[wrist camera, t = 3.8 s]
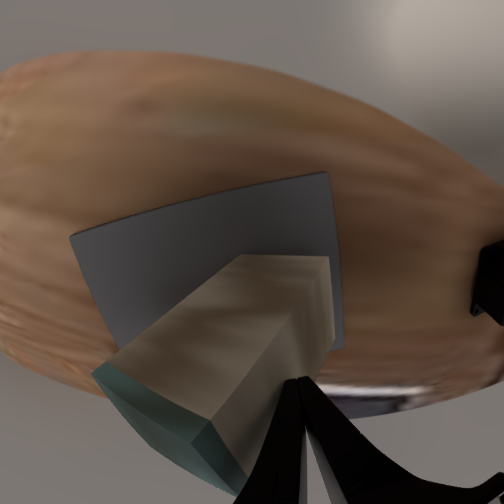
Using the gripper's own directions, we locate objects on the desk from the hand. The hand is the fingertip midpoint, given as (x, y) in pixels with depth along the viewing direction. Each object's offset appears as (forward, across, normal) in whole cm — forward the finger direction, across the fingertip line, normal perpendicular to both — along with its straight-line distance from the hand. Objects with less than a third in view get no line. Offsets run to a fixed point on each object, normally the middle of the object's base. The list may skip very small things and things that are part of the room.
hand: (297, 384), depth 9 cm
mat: (+8, +4, 0) cm, 9 cm away
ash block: (+6, 0, 0) cm, 6 cm away
